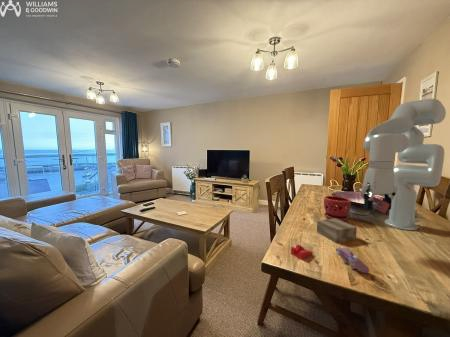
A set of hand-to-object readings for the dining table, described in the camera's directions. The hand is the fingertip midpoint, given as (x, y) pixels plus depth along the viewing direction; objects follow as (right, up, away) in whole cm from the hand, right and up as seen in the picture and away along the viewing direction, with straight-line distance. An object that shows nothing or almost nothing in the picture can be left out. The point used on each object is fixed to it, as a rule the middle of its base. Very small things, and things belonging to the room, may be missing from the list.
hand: (377, 208), depth 76 cm
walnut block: (-10, -15, +11) cm, 21 cm away
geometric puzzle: (0, -1, 0) cm, 1 cm away
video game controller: (-18, -17, -11) cm, 28 cm away
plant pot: (+3, -13, +33) cm, 35 cm away
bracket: (-32, -17, -4) cm, 37 cm away
